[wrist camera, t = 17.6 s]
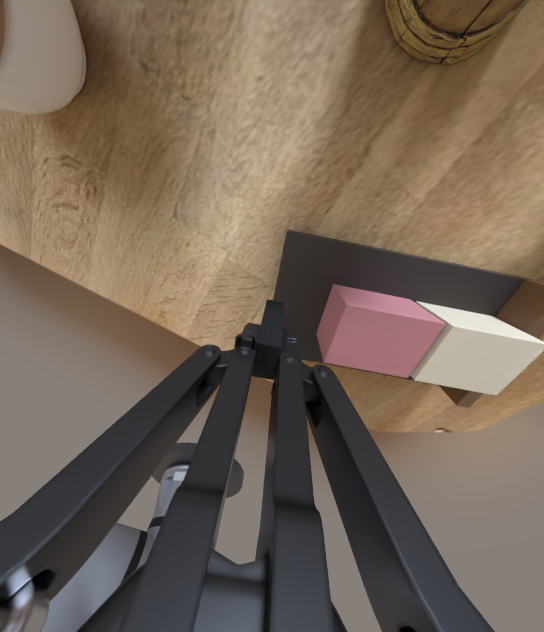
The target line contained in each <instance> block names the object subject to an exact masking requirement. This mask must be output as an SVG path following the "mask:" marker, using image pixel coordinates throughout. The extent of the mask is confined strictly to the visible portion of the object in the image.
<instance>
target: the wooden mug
mask: <svg viewBox="0 0 544 632" xmlns="http://www.w3.org/2000/svg"><path fill="white" fill-rule="evenodd" d="M528 1H529V0H385V10H386V13H387V16H388V19H389V22H390V25H391V28H392V31H393V34H394V37H395V40H396V42H397V43H398V44H399V45H400V46H402V47H403V49H404V50H405V51H406V53H408V54H409V55H411V56H412V57H414V58H415V59H417V60H420V61H424V62H429V63H434V64H453V63H456V62H458V61H460V60H463V59H465V58H468V57H470V56H473V55H474V54H475V53H476V52H478V51H479V50H480V49H481V48H482V47H483V46H485V45H486V44H487V43H488V42H489V41H491V40H492V39H493V38H494V37H495V36H496V35H497V34H498V33H499V32H500V31H501V30H502V29H503V28H504V27H505V26H506V25H507V24H508V23H509V21H510V20H511V19H512V18H513V17H514V16H515V15H516V14H517V13H518V12H519V11H520V10H521V9H522V8H523V7H524V6H525V5H526V4H527V2H528Z"/></svg>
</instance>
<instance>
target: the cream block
mask: <svg viewBox="0 0 544 632" xmlns="http://www.w3.org/2000/svg"><path fill="white" fill-rule="evenodd" d="M416 304H418V305H419V306H421V307H422V308H424V309H425V310H426V311H428V312H429V313H431V314H432V315H434V316H435V317H437V318H438V319H440V320H441V321H443V322H444V323H445V326H444V327H443V328H442V330H441V331H440V333H439V334H438V336H437V337H436V338H435V340H434V341H433V343H432V344H431V346H430V347H429V348H428V350H427V351H426V353H425V354H424V355H423V357H422V358H421V360H420V361H419V363H418V364H417V365H416V367H415V368H414V370H413V371H412V373H411V374H410V375H411V377H412V378H413V379H414V380H415V381H421V382H426V383H431V384H437V385H442V386H447V387H453V388H458V389H463V390H469V391H474V392H479V393H485V394H490V395H495V396H496V395H497V394H498V393H500V392H501V391H502V390H503V389H504V388H505V387H506V386H507V385H508V384H509V383H510V382H511V381H512V380H513V379H514V378H515V377H517V376H518V375H519V374H520V373H521V372H522V371H523V370H524V369H525V368H526V367H527V366H528V365H529V364H530V363H531V362H532V361H534V360H535V359H536V358H537V357H538V356H539V355H540V354H541V353H542V352H543V351H544V342H543V341H541V340H539V339H537V338H535V337H533V336H531V335H529V334H527V333H525V332H523V331H521V330H519V329H517V328H515V327H513V326H511V325H509V324H507V323H505V322H503V321H501V320H499V319H497V318H495V317H493V316H489V315H484V314H479V313H474V312H469V311H464V310H459V309H453V308H448V307H443V306H438V305H433V304H428V303H423V302H418V301H416Z"/></svg>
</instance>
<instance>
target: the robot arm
mask: <svg viewBox="0 0 544 632" xmlns="http://www.w3.org/2000/svg"><path fill="white" fill-rule="evenodd" d="M283 306H284V303H283V302H278V301H273V300H267V302H266V307H265V311H264V315H263V319H262V324H261V325H258V324H252V323H248V324H247V325H245V327H244V330H243V332H242V333H241V334H239V335H237V336H236V340H235V348H234V349H233V350H229V351H221V349H220V348H219V347H217V346H215V345H204V346H202V347H200V348H199V349H198V350H197V351H196V352H194V353H193V354H192V355H191V356H190V357H189V358H188V359H186V360H185V361H184V362H183V363H182V364H181V365H180V366H179V367H177V368H176V369H175V370H174V371H173V372H172V373H171V374H170V375H169V376H167V377H166V378H165V379H164V380H163V381H162V382H161V383H159V385H157V386H156V387H155V388H154V389H153V390H151V392H149V393H148V394H147V395H146V396H145V397H144V398H142V399H141V400H140V401H139V402H138V403H137V404H136V405H135V406H133V407H132V408H131V409H130V410H129V411H128V412H127V413H126V414H125V415H123V416H122V417H121V418H120V419H119V420H118V421H116V422H115V423H114V424H113V425H112V426H111V427H110V428H109V429H107V430H106V431H105V432H104V433H103V434H102V435H101V436H100V437H98V438H97V439H96V440H95V441H94V442H93V443H92V444H90V445H89V446H88V447H87V448H86V449H85V450H84V451H83V452H82V453H80V454H79V455H78V456H77V457H76V458H75V459H74V460H72V461H71V462H70V463H69V464H68V465H67V466H66V467H65V468H63V469H62V470H61V471H60V472H59V473H58V474H57V475H56V476H54V477H53V478H52V479H51V480H50V481H49V482H48V483H47V484H46V485H44V486H43V487H42V488H41V489H40V490H39V491H37V492H36V493H35V494H34V495H33V496H32V497H31V498H29V499H28V500H27V501H26V502H25V503H24V504H23V505H22V506H21V507H19V508H18V509H17V510H16V511H15V512H14V513H13V514H11V515H9V516H8V517H6V518H5V519H3V520H2V521H0V632H347V630H346V628H345V626H344V624H343V622H342V620H341V618H340V616H339V614H338V612H337V610H336V608H335V607H334V605H333V603H332V602H331V597H330V588H329V579H328V570H327V562H326V552H325V544H324V535H323V528H322V520H321V517H320V513H319V511H318V510H317V509H316V507H315V504H314V496H313V485H312V474H311V465H310V464H311V463H310V452H309V443H308V442H309V441H308V431H307V420H306V415H307V418H308V421H309V424H310V427H311V430H312V433H313V436H314V439H315V442H316V445H317V448H318V451H319V454H320V457H321V460H322V463H323V466H324V468H325V472H326V475H327V478H328V481H329V483H330V486H331V489H332V492H333V495H334V498H335V501H336V504H337V507H338V510H339V513H340V516H341V519H342V522H343V525H344V528H345V531H346V534H347V537H348V540H349V543H350V546H351V549H352V551H353V555H354V558H355V560H356V563H357V566H358V570H359V572H360V575H361V578H362V581H363V584H364V587H365V590H366V592H367V595H368V598H369V600H370V603H371V606H372V608H373V611H374V614H375V616H376V618H377V621H378V623H379V625H380V628H381V630H382V632H494V630H493V629H492V628H491V626H490V625H489V624H488V623H487V621H486V620H485V619H484V618H483V617H482V615H481V614H480V612H479V611H478V610H477V609H476V607H475V606H474V605H473V604H472V602H471V601H470V600H469V599H468V597H467V596H466V595H465V594H464V592H463V591H462V590H461V588H460V587H459V586H458V584H457V582H456V581H455V579H454V577H453V575H452V574H451V572H450V570H449V569H448V567H447V565H446V564H445V562H444V560H443V558H442V557H441V555H440V553H439V551H438V550H437V548H436V546H435V545H434V543H433V542H432V540H431V538H430V536H429V534H428V533H427V531H426V529H425V527H424V526H423V524H422V522H421V521H420V519H419V517H418V516H417V514H416V512H415V510H414V509H413V507H412V505H411V504H410V502H409V500H408V498H407V497H406V495H405V493H404V492H403V490H402V488H401V487H400V485H399V483H398V481H397V480H396V478H395V476H394V474H393V473H392V471H391V469H390V468H389V466H388V464H387V462H386V461H385V459H384V457H383V456H382V454H381V452H380V451H379V449H378V447H377V445H376V444H375V442H374V440H373V439H372V437H371V435H370V433H369V432H368V430H367V428H366V427H365V425H364V423H363V421H362V420H361V418H360V416H359V415H358V413H357V411H356V409H355V408H354V406H353V404H352V403H351V401H350V399H349V397H348V396H347V394H346V392H345V391H344V389H343V387H342V386H341V384H340V382H339V380H338V379H337V377H336V375H335V374H334V372H333V371H332V370H331V369H330V368H329V367H327V366H325V365H320V364H319V365H315V366H314V367H313V368H312V367H309V366H307V365H305V364H304V363H302V362H301V359H300V357H299V356H298V346H297V335H296V333H295V332H294V331H292V330H286V329H283ZM251 376H255V377H261V378H266V379H271V380H274V383H273V387H272V391H271V395H272V399H271V410H270V421H269V434H268V445H267V455H266V466H265V478H264V489H263V500H262V511H261V523H260V531H259V537H258V543H257V550H256V559H255V561H254V562H250V563H246V564H242V565H238V564H236V563H234V562H232V561H231V560H229V559H228V558H226V557H224V556H223V555H221V554H220V553H218V552H217V551H215V546H216V541H217V536H218V531H219V525H220V521H221V516H222V512H223V507H224V502H225V498H226V493H227V489H228V484H229V479H230V475H231V470H232V465H233V461H234V456H235V451H236V447H237V442H238V437H239V433H240V428H241V424H242V419H243V414H244V410H245V405H246V400H247V396H248V391H249V386H250V381H251ZM218 385H220V387H219V390H218V392H217V395H216V397H215V400H214V403H213V405H212V408H211V410H210V413H209V415H208V418H207V420H206V423H205V426H204V429H203V431H202V433H201V436H200V438H199V441H198V444H197V446H196V449H195V451H194V454H193V456H192V459H191V462H178V463H174V464H171V465H169V466H168V467H167V468H166V470H165V472H164V474H163V476H162V479H161V483H160V488H159V493H158V498H157V503H156V508H155V513H154V516H153V518H152V521H151V523H150V525H149V527H148V530H147V532H145V531H142V530H139V529H136V528H132V527H129V526H126V525H123V524H119V523H116V522H117V521H118V520H119V518H120V517H121V516H122V514H123V513H124V511H125V510H126V509H127V508H128V506H129V505H130V504H131V502H132V501H133V500H134V498H135V497H136V496H137V494H138V493H139V492H140V490H141V489H142V488H143V486H144V485H145V484H146V482H147V481H148V480H149V478H150V477H151V476H152V474H153V473H154V472H155V470H156V469H157V468H158V466H159V465H160V463H161V462H162V461H163V459H164V458H165V457H166V455H167V454H168V453H169V451H170V450H171V449H172V447H173V446H174V445H175V443H176V442H177V441H178V439H179V438H180V437H181V435H182V434H183V433H184V431H185V430H186V429H187V427H188V426H189V425H190V423H191V422H192V421H193V419H194V418H195V417H196V415H197V414H198V413H199V411H200V410H201V409H202V407H203V406H204V405H205V403H206V402H207V401H208V399H209V398H210V397H211V395H212V394H213V392H214V391H215V390H216V388H217V387H218Z"/></svg>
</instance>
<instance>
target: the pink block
mask: <svg viewBox="0 0 544 632" xmlns="http://www.w3.org/2000/svg"><path fill="white" fill-rule="evenodd" d="M444 326H445V323H444V322H443V321H441V320H440V319H438V318H437V317H435V316H434V315H432V314H431V313H429V312H428V311H426V310H425V309H424V308H422V307H421V306H419V305H418V304H416V303H415V302H413V301H412V300H410V299H406V298H401V297H396V296H391V295H386V294H381V293H376V292H371V291H366V290H361V289H356V288H350V287H345V286H340V285H335V284H333V286H332V289H331V292H330V295H329V298H328V301H327V304H326V307H325V310H324V312H323V315H322V318H321V321H320V324H319V327H318V330H317V333H316V334H317V338H318V342H319V346H320V350H321V354H322V358H323V362H324V363H328V364H334V365H339V366H345V367H350V368H355V369H361V370H366V371H371V372H377V373H382V374H387V375H393V376H398V377H403V378H408V377H409V375H410V374H411V373H412V371H413V370H414V368H415V367H416V365H417V364H418V363H419V361H420V360H421V358H422V357H423V355H424V354H425V353H426V351H427V350H428V348H429V347H430V346H431V344H432V343H433V341H434V340H435V338H436V337H437V336H438V334H439V333H440V331H441V330H442V328H443V327H444Z"/></svg>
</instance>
